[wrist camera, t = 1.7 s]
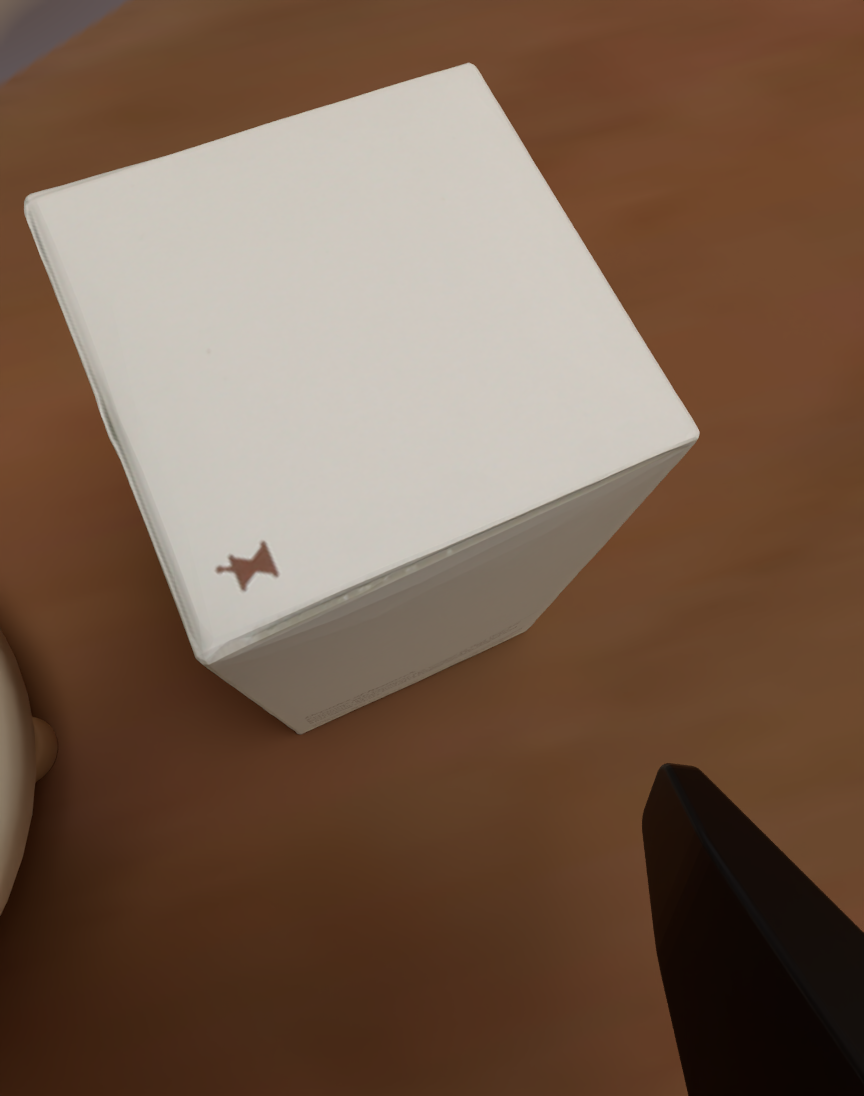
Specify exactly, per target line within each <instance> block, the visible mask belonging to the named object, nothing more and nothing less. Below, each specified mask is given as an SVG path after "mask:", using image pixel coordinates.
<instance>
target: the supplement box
mask: <svg viewBox="0 0 864 1096" xmlns="http://www.w3.org/2000/svg"><path fill="white" fill-rule="evenodd" d="M24 213H25V216H26V219H27V222H28V225H29V228H30V230H31V233H32V235H33V238H34V240H35V243H36V246H37V248H38V251H39V254H40V256H41V259H42V261H43V264H44V266H45V269H46V271H47V274H48V276H49V279H50V281H51V284H52V287H53V289H54V292H55V294H56V297H57V299H58V302H59V305H60V307H61V310H62V312H63V315H64V317H65V320H66V323H67V325H68V328H69V330H70V333H71V335H72V338H73V341H74V343H75V346H76V348H77V351H78V354H79V356H80V359H81V361H82V364H83V367H84V369H85V372H86V374H87V377H88V380H89V382H90V385H91V387H92V390H93V393H94V395H95V398H96V401H97V404H98V407H99V411H100V413H101V416H102V419H103V422H104V425H105V428H106V430H107V433H108V436H109V438H110V440H111V442H112V444H113V446H114V448H115V450H116V452H117V454H118V456H119V458H120V461H121V463H122V466H123V468H124V471H125V473H126V476H127V479H128V481H129V484H130V486H131V489H132V491H133V494H134V497H135V499H136V502H137V504H138V507H139V509H140V512H141V515H142V517H143V520H144V522H145V525H146V527H147V530H148V533H149V535H150V538H151V541H152V543H153V546H154V549H155V551H156V554H157V557H158V559H159V562H160V565H161V567H162V570H163V572H164V575H165V578H166V580H167V583H168V585H169V588H170V590H171V593H172V596H173V598H174V601H175V603H176V606H177V609H178V611H179V614H180V617H181V619H182V622H183V625H184V628H185V630H186V633H187V636H188V639H189V641H190V644H191V647H192V650H193V652H194V655H195V658H196V659H197V660H198V661H199V662H200V663H201V664H203V665H204V666H205V667H206V668H208V669H209V670H210V671H212V672H213V673H215V674H216V675H217V676H219V677H220V678H221V679H223V680H224V681H225V682H227V683H229V684H230V685H231V686H233V687H234V688H236V689H237V690H238V691H240V692H241V693H242V694H244V695H245V696H247V697H248V698H249V699H251V700H252V701H254V702H255V703H257V704H258V705H259V706H261V707H262V708H263V709H265V710H266V711H267V712H269V713H270V714H271V715H273V716H275V717H276V718H277V719H279V720H280V721H282V722H283V723H284V724H286V725H287V726H288V727H289V728H291V729H293V730H294V731H295V732H296V733H297V734H303V733H305V732H307V731H310V730H312V729H314V728H316V727H318V726H321V725H323V724H325V723H327V722H329V721H331V720H334V719H336V718H338V717H340V716H342V715H345V714H347V713H349V712H351V711H353V710H356V709H358V708H360V707H362V706H364V705H367V704H369V703H371V702H373V701H376V700H378V699H380V698H382V697H385V696H387V695H389V694H391V693H394V692H396V691H398V690H400V689H403V688H405V687H407V686H409V685H412V684H414V683H416V682H418V681H420V680H422V679H425V678H427V677H429V676H431V675H433V674H435V673H437V672H439V671H442V670H444V669H446V668H448V667H450V666H452V665H454V664H456V663H459V662H461V661H463V660H465V659H467V658H470V657H472V656H474V655H476V654H478V653H481V652H483V651H485V650H487V649H489V648H491V647H493V646H496V645H498V644H500V643H502V642H504V641H506V640H508V639H510V638H512V637H514V636H517V635H519V634H521V633H523V632H525V631H526V630H527V629H529V628H530V627H531V626H532V625H533V623H534V622H535V621H536V620H537V618H538V617H539V616H540V615H541V614H542V613H543V612H544V611H545V610H546V608H547V607H548V606H549V605H550V604H551V603H552V602H553V601H554V600H555V599H556V598H557V596H558V595H559V594H560V593H561V592H562V591H563V590H564V588H565V587H566V586H567V585H568V584H569V583H570V582H571V581H572V580H573V579H574V577H575V576H576V575H577V574H578V573H579V572H580V570H581V569H582V568H583V567H584V566H585V565H586V564H587V563H588V562H589V561H590V560H591V559H592V558H593V557H594V556H595V555H596V554H597V552H598V551H599V550H600V549H601V548H602V547H603V546H604V545H605V544H606V542H607V541H608V540H609V539H610V538H611V537H612V536H613V535H614V534H615V532H616V531H617V530H618V529H619V528H620V527H621V526H622V524H623V523H624V522H625V521H626V520H627V519H628V518H629V517H630V515H631V514H632V513H633V512H634V511H635V510H636V509H637V508H638V507H639V505H640V504H641V503H642V502H643V501H644V500H645V498H646V497H647V496H648V495H649V494H650V493H651V492H652V491H653V490H654V489H655V487H656V486H657V485H658V484H659V483H660V482H661V481H662V480H663V479H664V477H665V476H666V475H667V474H668V472H669V471H670V470H671V469H672V468H673V467H674V466H675V465H676V464H677V463H678V462H679V461H680V460H681V459H682V458H683V457H684V455H685V454H686V453H687V452H688V450H689V449H690V448H691V447H692V446H693V445H694V444H695V442H696V441H697V439H698V437H699V430H698V428H697V426H696V424H695V423H694V421H693V419H692V417H691V416H690V414H689V413H688V411H687V409H686V408H685V406H684V405H683V403H682V402H681V400H680V399H679V397H678V395H677V394H676V392H675V391H674V389H673V387H672V386H671V384H670V383H669V381H668V379H667V378H666V376H665V374H664V373H663V371H662V370H661V368H660V366H659V365H658V363H657V362H656V360H655V358H654V357H653V355H652V354H651V352H650V350H649V349H648V347H647V346H646V344H645V342H644V341H643V339H642V337H641V336H640V334H639V333H638V331H637V329H636V328H635V326H634V324H633V323H632V321H631V320H630V318H629V316H628V315H627V313H626V311H625V310H624V308H623V306H622V305H621V303H620V302H619V300H618V298H617V297H616V295H615V293H614V292H613V290H612V289H611V287H610V285H609V284H608V282H607V280H606V279H605V277H604V276H603V274H602V272H601V271H600V269H599V267H598V266H597V264H596V263H595V261H594V259H593V258H592V256H591V254H590V253H589V251H588V250H587V248H586V246H585V245H584V243H583V241H582V240H581V238H580V236H579V235H578V233H577V232H576V230H575V228H574V227H573V225H572V223H571V222H570V220H569V219H568V217H567V215H566V214H565V212H564V210H563V209H562V207H561V206H560V204H559V202H558V201H557V199H556V197H555V196H554V194H553V193H552V191H551V189H550V188H549V186H548V184H547V183H546V181H545V179H544V178H543V176H542V175H541V173H540V171H539V170H538V168H537V166H536V165H535V163H534V162H533V160H532V158H531V157H530V155H529V153H528V152H527V150H526V148H525V147H524V145H523V143H522V142H521V140H520V138H519V137H518V135H517V133H516V132H515V130H514V128H513V127H512V125H511V123H510V122H509V120H508V118H507V117H506V115H505V113H504V112H503V110H502V108H501V107H500V105H499V104H498V102H497V101H496V99H495V97H494V96H493V94H492V92H491V91H490V89H489V87H488V86H487V84H486V82H485V81H484V79H483V77H482V75H481V74H480V72H479V70H478V69H477V68H476V67H475V66H474V65H473V64H470V63H466V64H463V65H460V66H456V67H453V68H450V69H446V70H443V71H439V72H436V73H432V74H429V75H426V76H422V77H419V78H416V79H412V80H409V81H405V82H402V83H399V84H395V85H392V86H389V87H385V88H382V89H379V90H376V91H372V92H369V93H366V94H363V95H360V96H357V97H354V98H350V99H347V100H344V101H340V102H337V103H334V104H330V105H327V106H324V107H320V108H317V109H314V110H310V111H307V112H304V113H300V114H297V115H294V116H291V117H287V118H284V119H281V120H278V121H274V122H271V123H268V124H265V125H262V126H258V127H255V128H252V129H249V130H246V131H243V132H240V133H237V134H234V135H231V136H228V137H224V138H221V139H218V140H215V141H212V142H209V143H206V144H203V145H200V146H196V147H193V148H190V149H187V150H184V151H180V152H177V153H174V154H171V155H168V156H164V157H161V158H157V159H154V160H150V161H146V162H143V163H139V164H135V165H132V166H128V167H125V168H121V169H118V170H114V171H110V172H107V173H103V174H100V175H96V176H93V177H90V178H86V179H83V180H79V181H76V182H72V183H69V184H66V185H62V186H59V187H55V188H51V189H47V190H44V191H40V192H36V193H32V194H30V195H29V196H27V197H26V199H25V201H24Z"/></svg>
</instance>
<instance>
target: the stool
mask: <svg viewBox="0 0 864 1096" xmlns="http://www.w3.org/2000/svg"><path fill="white" fill-rule="evenodd" d="M57 751H58V742H57V737H56V734H55V732H54V730H53V729H52V727H51V726H50V725H49V724H48V723H46V722H45V721H43V720H42V719H39V718H36V717H32V714H31V708H30V702H29V697H28V693H27V690H26V687H25V684H24V681H23V678H22V675H21V672H20V669H19V666H18V663H17V660H16V658H15V656H14V654H13V652H12V650H11V648H10V646H9V644H8V642H7V640H6V638H5V636H4V634H3V632H2V630H1V628H0V916H1V913H2V911H3V909H4V907H5V905H6V903H7V901H8V898H9V895H10V892H11V890H12V887H13V884H14V881H15V878H16V875H17V872H18V870H19V867H20V864H21V861H22V858H23V854H24V850H25V845H26V841H27V836H28V832H29V827H30V823H31V818H32V812H33V802H34V791H35V782H37V781H38V780H40V779H41V778H42V777H44V776H45V775H46V774H47V773H48V771H49V770H50V769H51V767H52V766H53V764H54V762H55V759H56V756H57Z"/></svg>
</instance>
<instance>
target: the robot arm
mask: <svg viewBox="0 0 864 1096" xmlns="http://www.w3.org/2000/svg"><path fill="white" fill-rule="evenodd" d="M642 833H643V841H644V850H645V859H646V868H647V876H648V885H649V894H650V903H651V911H652V920H653V929H654V937H655V944H656V951H657V957H658V962H659V967H660V972H661V976H662V981H663V985H664V990H665V994H666V999H667V1003H668V1007H669V1012H670V1016H671V1021H672V1025H673V1029H674V1034H675V1038H676V1043H677V1047H678V1052H679V1056H680V1060H681V1065H682V1069H683V1074H684V1078H685V1082H686V1087H687V1091H688V1096H864V933H863V932H862V931H861V930H860V929H859V928H858V927H857V926H856V925H855V924H854V923H853V922H852V921H851V920H850V919H849V918H848V917H847V916H846V915H845V914H844V913H843V912H842V911H841V910H840V909H839V908H838V907H837V906H836V905H835V904H834V903H833V902H832V901H831V900H830V899H829V898H828V897H827V896H826V895H825V894H824V893H823V892H822V891H821V890H820V889H819V888H818V887H817V886H816V885H815V884H814V883H813V882H812V881H811V880H810V879H809V878H808V877H807V876H806V875H805V874H804V873H803V872H802V871H801V870H800V869H799V868H798V867H797V866H796V865H795V864H794V863H793V862H792V861H791V860H790V859H789V858H788V857H787V856H786V855H785V854H784V853H783V852H782V851H781V850H780V849H779V848H778V847H777V846H776V845H775V844H774V843H773V842H772V841H771V840H770V839H769V838H768V837H767V836H766V835H765V834H764V833H763V832H762V831H761V830H760V829H759V828H758V827H757V826H756V825H755V824H754V823H753V822H752V821H751V820H750V819H749V818H748V817H747V816H746V815H745V814H744V813H743V812H742V811H741V810H740V809H739V808H738V807H737V806H736V805H735V804H734V803H733V802H732V801H731V800H730V799H729V798H728V797H727V796H726V795H725V794H724V793H723V792H722V791H721V790H720V789H719V788H718V787H717V786H716V785H715V784H714V783H713V782H712V781H711V780H710V779H709V778H708V777H707V776H706V775H705V774H704V773H703V772H702V771H701V770H699V769H698V768H696V767H694V766H688V765H680V764H672V763H666V764H664V765H662V766H661V767H660V769H659V770H658V772H657V775H656V778H655V781H654V783H653V786H652V789H651V792H650V795H649V797H648V800H647V803H646V806H645V809H644V812H643V818H642Z"/></svg>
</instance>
